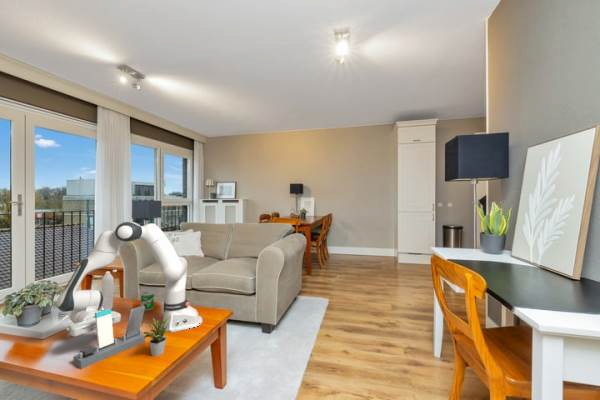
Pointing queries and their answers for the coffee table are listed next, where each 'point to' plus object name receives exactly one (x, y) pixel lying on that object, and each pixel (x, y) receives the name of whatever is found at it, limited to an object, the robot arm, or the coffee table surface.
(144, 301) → the soda can
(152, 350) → the house plant
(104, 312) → the white paddle
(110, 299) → the water bottle
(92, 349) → the black rocker
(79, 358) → the grey holder rack
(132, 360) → the coffee table surface
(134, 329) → the grey upright panel
